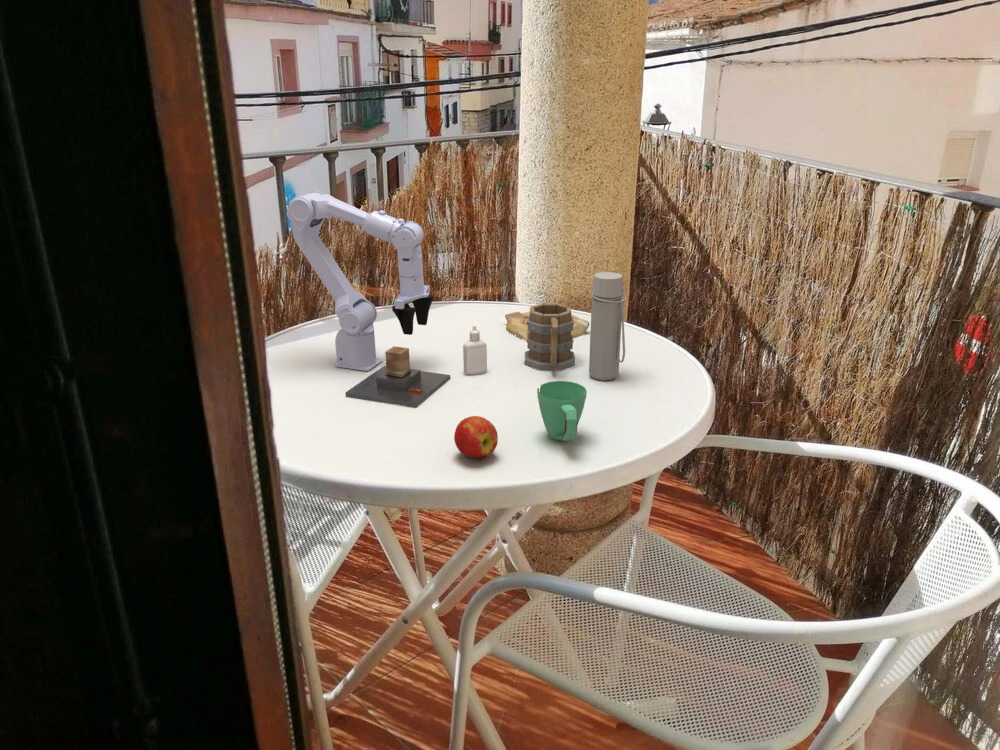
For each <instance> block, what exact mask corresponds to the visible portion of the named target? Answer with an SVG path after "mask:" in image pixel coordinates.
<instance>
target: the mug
mask: <svg viewBox="0 0 1000 750" xmlns="http://www.w3.org/2000/svg"><path fill="white" fill-rule="evenodd" d="M587 392H588V391H587V388H586V387H585V386H584V385H582V384H580V383H577V382H575V381H574V382H573V381H568V380H553V381H548V382H544V383H542V384H540V387H537V388H536V393H537V395H536V396H537V401H538V405H539V406H538V407H539V410H540V415H541V418H542V421H543V424H544V427H545V429H546V432H547V435H548V437H549V438H550V439H552V440H555V441H561V442H562V441H565V442H567V441H568V442H569V441H571V440H573V439H574V438H575V435H576V433H577V432H578V425H579V423H580V421H581V417H582V414H583V410H584V408H585V404H586V400H587V399H586V398H587Z"/></svg>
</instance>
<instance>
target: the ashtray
mask: <svg viewBox="0 0 1000 750" xmlns="http://www.w3.org/2000/svg"><path fill="white" fill-rule="evenodd" d="M529 315H530V311H528V312H522V313H521V312H520V311H515V312H510V313H508V314H505V315H504V317H505V320H506V321H507V324H506V327H505V330H506V331H508V332H509V333H508V332H507V333H508V334H510V333H511V334H510V335H512V334H513V335H512V336H514V335H516V336H517V337H516V336H515V337H516V338H518V337H519V338H518V339H520V338H521V339H520V340H522V339H524V340H523V341H525V340H528V334H530V331H528V325H527V324H526V322H528V316H529ZM571 316H572V317H573V322H574V325H573V331H571V334H572V338H573V339H575V338H578V337H582V336H584V335H585V334H586V333H587V330H588V329H589V327H590V325H591V322H589V321H588V320H585V319H583V318H579V317H578V316H576V315H573V314H571Z"/></svg>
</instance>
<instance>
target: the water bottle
mask: <svg viewBox="0 0 1000 750" xmlns="http://www.w3.org/2000/svg"><path fill="white" fill-rule="evenodd" d="M623 278H624V277H623V275H622V273H618V272H614V271H613V272H611V271H605V272H604V271H602V272H597V273H595V274H594V275H593V281H592V286H591V287H592V288H591V294H590V295H591V297H592V298H591V307H590V308H591V309H590V337H589V358H588V359H589V360H588V361H589V363H588V364H589V365H588V373H589V376H590V377H591V378H593V379H594V380H597V381H603V382H604V381H612V380H616V378H617V377H618V375H620V374H619V373H620V371H619V370H620V363H623V362H624V360H625V356H626V343H625V342H626V338H625V322H624V321H625V320H624V318H625V317H624V316H625V315H624V305H625V303H626V300H627V297H626V295H625V294H624V279H623ZM621 339H622V357H621V359H620V355H621V354H620V353H621V352H620V351H621Z"/></svg>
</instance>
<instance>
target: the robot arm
mask: <svg viewBox="0 0 1000 750" xmlns="http://www.w3.org/2000/svg"><path fill="white" fill-rule="evenodd" d="M286 217H287V218H288V220H289V221H290V225H291V230H292V231H291V232H292V237H293V240H294V242H295V243H296V244H297V246H298V248H299V249H300V251H301V253H302V254H303V256H304V257H305V258H306V260H307V262H308V263H309V264H310V266H311V268H312V269H313V270H314V272H315V273H316V275H317V276H318V278H319V280H320V282H321V283H322V284H323V286H324V287H325V289H326V290H327V291H328V293H329V294H330V296H331V297H332V299H333V300H334V301H335V305H334V306H335V308H334V312H335V314H336V315H337V318H338V320H339V325H340V327H341V329H339V330H338V332H337V333H336V336H335V339H334V340H335V342H334V345H335V356H336V364H335V367H337V368H344V369H350V370H355V371H356V370H357V371H365V372H368V371H370V370H371V369H373V368H376V366H378V365H379V364H381V363H382V362H383V361H384V359H383V358H379V357H378V358H377V352H376V351H377V350H376V339H375V338H376V337H375V336H376V335H375V327H374V322H375V321H376V319H377V316H378V311H377V308H376V306H375V305H374V304H373V303H372V302H371V301H369V300H368V299H366V297H365V295H364V294H363V293H361V292H359V291H357V290H356V289H354V287H353V286H352V284H351V282H350V281H349V280H348V278H347V277H346V275H345V273H344V272H343V271H342V269H341V268H340V266H339V265H338V263H337V262H336V260H335V258H334V257H333V256H332V255H333V254H331V252H330V251H329V249H328V248H327V246H326V245H325V243H324V242H323V240H322V239H321V237H320V235H319V233H320V230H321V225H322V223H323V221H324V219H325V218H331V217H333V218H337V219H339V220H342V221H345V222H348V223H351V224H355V225H357V226H360V227H363V228H364V230H365V232H366V233H367V235H370V236H372V237H375V238H378V239H380V240H383V241H384V242H387V243H390V244H393V246H394V247H395V249H396V250H397V264H398V277H399V278H398V279H399V290H400V292H399V294H398V296H397V298H396V299H394V305H392V307H391V309H392V310H391V311H392V312H393V314H395V316H396V318H397V320H398V322H399V325H400V327H401V332H402V333H403V335H409V336H411V335H413V333H414V317H416V322H417V325H418V326H426V325H427V324H428V319H429V312H430V309H431V305H432V303H433V302H434V299H435V298H434V295H432V294H431V289H430V287H431V285H429V284H426V285H425V281H424V266H423V264H424V263H423V252H422V244H421V243H422V242H423V240H424V237H425V233H424V230H423V228H422V226H421V225H420V224H419V223H416V222H415V221H414V220H413V221H412V220H411V221H406V222H405V219H404V218H400V217H399V219H398V218H395V217H393V216H391V215H388V214H387V213H386V211H385V210H382V209H381V210H374V211H372V212H370V213H369V212H366V211H364V210H362V209H360V208H357V207H355V206H353V205H351V204H350V203H348V202H347V203H346V202H344V201H342V200H339V199H338V198H335V197H334V196H332V195H330V194H326V193H325V194H324V193H323V192H321V191H318V190H317V191H316V190H315V191H311V192H309V193H306V194H304V195H303V194H302V195H299V196H294V197H293V198H292V199H291V200H290V202H289V203H288V208H287V211H286ZM410 303H412V305H413V307H411V305H409V304H410Z"/></svg>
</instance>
